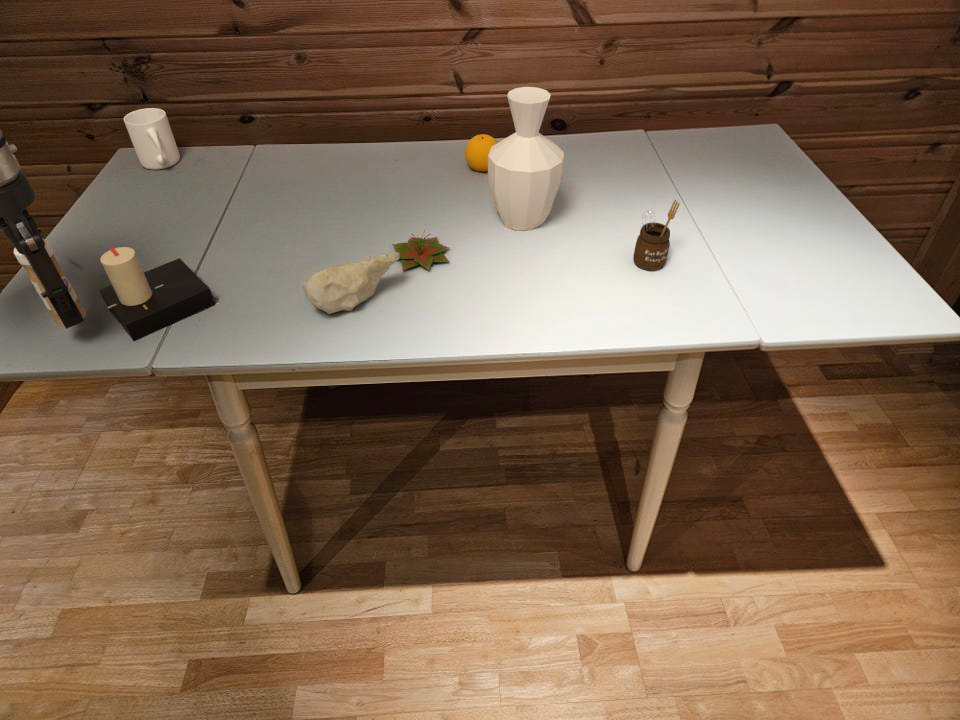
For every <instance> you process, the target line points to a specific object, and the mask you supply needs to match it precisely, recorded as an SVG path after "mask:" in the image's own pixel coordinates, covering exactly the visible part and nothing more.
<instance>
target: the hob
mask: <svg viewBox="0 0 960 720" xmlns="http://www.w3.org/2000/svg"><path fill="white" fill-rule="evenodd" d="M143 272H144V274H145V277H146V279H147V281H148V284H149V286H150V288H151V290H152V296H151V297H150V299H149V300H147V301H146V302H144V303H142V304H139V305H135V306H126V305H123V304H122V303H121V302H120V300H119V298H118V296H117V294H116V292H115V290H114V288H113V286H112V284H111V285H109V286H106V287H104V288H101V289H99V290H98V292H99V294H100V296H101V298H102V300H103V302H104V304H105V306H106V308H107V309H108V310H109V312H111V314H112V315H113V316H114V318H115V320H117V322H118V323H119V324H120V326H121V327H122V328H123V329H124V331H125V332H126V333H127V335H128V336H129V337H130V339H131V340H132V341H133V342H135V341H137V340H140V339H142V338H145V337H147V336H149V335H152V334H153V333H156V332H158V331H160V330H162V329H165V328H166V327H169V326H172V325H173V324H176V323H178V322H180V321H183V320H184V319H187V318H189V317H191V316H193V315H196V314H198V313H200V312H202V311H205V310H207V309H209V308H212V307H214V306H216V302H215V299H214V297H213V294H212V291H211V288H210V287H209V286H208V285H207V284H206V283H205V282H204V281H203V280H202V279H201V278H200V277H199V276H198V275H197V274H196V273H195V272H194V271H193V270H192V268H190V266H188V265H187V264H186V263H185V261H183V260H182V259H181V258H180V257H179V258H176V259H174V260H171V261H169V262H166V263H164V264H161V265H158V266H157V267H154V268H151V269H149V270H146V271H143Z"/></svg>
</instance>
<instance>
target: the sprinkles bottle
mask: <svg viewBox="0 0 960 720" xmlns="http://www.w3.org/2000/svg"><path fill="white" fill-rule="evenodd" d="M42 239H43V241H44V243H45V246H44V247H45V249H46V251H47V252H48V254H49V256H50V258H51V260H52V262H53V263H54V265H55V267H56V269H57V271H58V273H59V274H60V276H61V278H62V280H63V282H64V283H65V285H66V286H67V287H68V290H69V291H68V292H69V293H70V295H71V297H72V299H73V301H74V303H75V304H76V306H77V308H78V310H79V312H80V313H81V315H82V317H83V319H84V320H85V318H86V315H87V313H86V309H85V308H84V307H83V306H82V304H81V302H80V299H79V298H78V296H77V294H76V292H75V290H74V288H73V286H72V284H71V283H70V280H69V279H68V278H67V276H66V274H65V271H63V269H62V267H61V265H60V263H59V262H58V260H57V258H56V256H55V252H54V250H53V247H52V246H51V243H50V242H49V241H48V240H46V239H45V238H42ZM13 255H14V257H15V258H16V260H17V262H18V263H19V264H20V266H22V267H23V269H24V271H25V273H26V274H27V276H28V278H29V280H30V283H31V284H32V286H33V287H34V289H35V291H36V293H37V294H38V296H39V298H40V299H41V301H42V303H43V304H44V307H45V308H46V309H47V310H48V312H49V314H50V315H51V317H52V318H53V322H54V323H55V325H57V326H59V327H63V328H65V326H64V324H63V323H62V321H61V319H60V317H59V316H58V314H57V312H56V310H55V309H54V307H53V305H52V304H51V302H50V300H49V298H48V297H46V298H43V297H42V295H41V294H40V293H43V292H45V289H44V287H43V285H42V284H41V282H40V280H39V279H38V277H37V275H36V274H35V272H34V270H33V269H32V267H31V265H30V263H29V262H28V260H27V258H26V257H25V255H24V254H20V253H19V252H18V251H17V249H16V248H15V247H14V248H13Z"/></svg>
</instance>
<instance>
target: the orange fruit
mask: <svg viewBox="0 0 960 720" xmlns="http://www.w3.org/2000/svg"><path fill="white" fill-rule="evenodd" d="M497 143H499V142H498V141H497V139H495V137H493V136H491V135H489V134H486V133H482V134H476V135H475V136H473V137H471V138H470V139H469V140H468V142H467V144H466V146H465V149H464V157H465V161H466V163H467V166H469V167H470V168H471V169H473V170H474V171H476V172H488V155H489V152H490V150H491V147H492V146H494V145H495V144H497Z"/></svg>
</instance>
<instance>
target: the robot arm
mask: <svg viewBox="0 0 960 720" xmlns="http://www.w3.org/2000/svg"><path fill="white" fill-rule="evenodd" d="M16 152H18V147H17V146H16V145H15V144H13V143H11V144H9V142H8V141H7V138H6V135H5V134H4V133H3V130H2V128H0V229H1V230H2V232H3V233H4V235H5V236H6V237H7V238H8V239H9V241H10V242H11V243H12V245H13V246H14V248H16V249H17V251H18V252H19V253H20V254H24V255H25V257H26V258H27V260H28V262H29V263H30V265H31V267H32V269H33V270H34V272H35V274H36V275H37V277H38V279H39V280H40V282H41V284H42V285H43V287H44V289H45V292H43V293H40V294H41V295H42V297H43V298H46V297H48V298H49V300H50V302H51V304H52V305H53V307H54V309H55V310H56V312H57V314H58V316H59V317H60V319H61V321H62V323H63V324H64V326H65V327H64V328H65V329H70V328H72V327H74V326H76V325H78V324H81V323H84V322H85V318H84V319H83V317H82V315H81V313H80V312H79V310H78V308H77V306H76V304H75V303H74V301H73V299H72V297H71V295H70V293H69V292H68V291H69V290H68V287H67V286H66V285H65V283H64V282H63V280H62V278H61V276H60V274H59V273H58V271H57V269H56V267H55V265H54V263H53V262H52V260H51V258H50V256H49V254H48V252H47V251H46V249H45V247H44V246H45V243H44V241H43V239H44V238H43V237H42V236H41V234H40V232H39V230H38V224H37V222H36V220H35V219H34V217H33V216H32V215H30V213H29V211H28V210H27V208H28V207H30V206H31V205H32V204H33V203H34V201H35V199H36V193H35V190H34V189H33V186H32V185H31V182H30V181H29V179H28V176H27V175H26V173H25V172H24V171H22V170H21V165H20V163H19V161H18V159H17V157H16V155H15V154H13V153H16Z"/></svg>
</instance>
